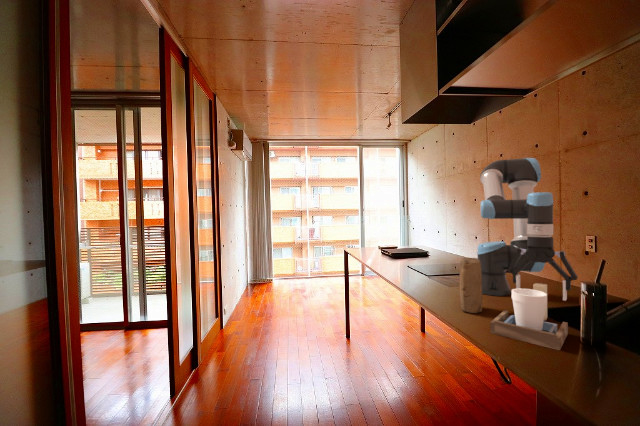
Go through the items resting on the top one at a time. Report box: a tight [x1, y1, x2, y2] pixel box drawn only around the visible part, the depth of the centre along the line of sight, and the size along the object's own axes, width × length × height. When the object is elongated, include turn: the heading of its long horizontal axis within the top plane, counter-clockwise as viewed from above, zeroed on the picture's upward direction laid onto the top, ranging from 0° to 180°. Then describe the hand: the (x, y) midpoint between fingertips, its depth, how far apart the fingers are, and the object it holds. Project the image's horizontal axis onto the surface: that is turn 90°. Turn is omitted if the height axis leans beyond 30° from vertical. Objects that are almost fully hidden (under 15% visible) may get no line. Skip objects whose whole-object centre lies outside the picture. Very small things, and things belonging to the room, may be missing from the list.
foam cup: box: [511, 287, 548, 331], centre depth 98 cm, size 10×9×13 cm
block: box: [459, 257, 483, 314], centre depth 121 cm, size 11×8×20 cm
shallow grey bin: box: [489, 309, 569, 351], centre depth 97 cm, size 16×18×4 cm
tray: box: [505, 282, 558, 335], centre depth 102 cm, size 25×13×12 cm, turn 135°
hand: (540, 296), depth 109 cm, fingers open, 13 cm apart
